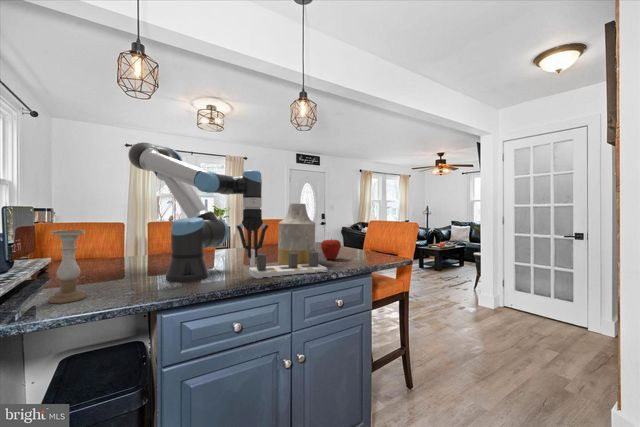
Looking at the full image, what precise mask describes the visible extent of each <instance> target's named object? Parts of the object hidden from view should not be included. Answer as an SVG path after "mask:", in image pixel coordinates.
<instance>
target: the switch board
mask: <svg viewBox="0 0 640 427" xmlns="http://www.w3.org/2000/svg"><path fill="white" fill-rule="evenodd" d="M324 270H327V271H328V267H326V266H324V265H321V264H320V263H318V266H311V265H309V264H297V267H293V268H291V267H289V266H288V265H281V266H279V265H270V266H267V265H266V269H265V270H258V269H257V266H256V267H255V266H250V267H248V274H250V275H251V276H252V277H253V278H254V279H255V278H256V279H263V277H268V278H273V277H272V276H280V275H288V274H296V273H305V272H315V271H324ZM280 277H281V276H280Z"/></svg>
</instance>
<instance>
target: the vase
mask: <svg viewBox="0 0 640 427" xmlns="http://www.w3.org/2000/svg"><path fill="white" fill-rule="evenodd" d="M277 230H278V231H277V232H278V234H277V235H278V238H277V240H278V241H277V243H278V244H277V246H278V247H277V266H281V265H288V253H291V252H295V253H298V264H309V252H312V251H316V223H315V222H314V221H313V220H311V218H310V217H309V215H308V212H307V206H306V203H299V202H298V203H289V205H288V209H287V213H286V215H285V217H284V218H283V219H282V220H280V221H279V222H278V229H277Z"/></svg>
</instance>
